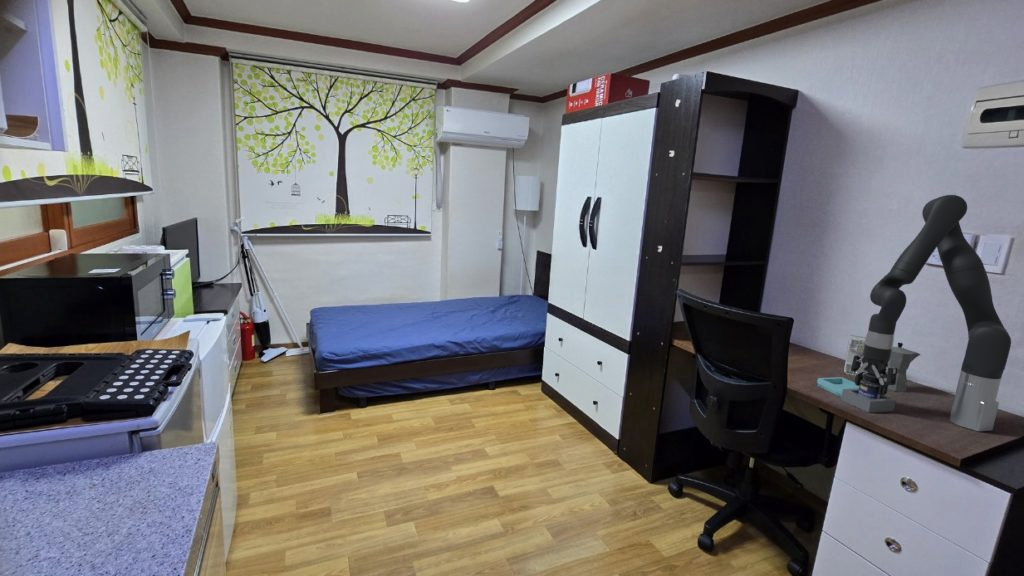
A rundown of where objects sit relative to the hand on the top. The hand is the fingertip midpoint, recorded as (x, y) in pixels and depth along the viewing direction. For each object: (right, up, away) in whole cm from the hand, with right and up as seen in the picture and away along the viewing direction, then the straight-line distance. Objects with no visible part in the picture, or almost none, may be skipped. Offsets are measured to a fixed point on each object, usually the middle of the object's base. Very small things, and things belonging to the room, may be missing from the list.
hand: (869, 390), depth 164 cm
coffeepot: (+22, -3, +20) cm, 30 cm away
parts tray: (-1, -3, +14) cm, 14 cm away
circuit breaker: (+21, 0, +37) cm, 43 cm away
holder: (0, -6, +1) cm, 6 cm away
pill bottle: (0, -6, +1) cm, 6 cm away
